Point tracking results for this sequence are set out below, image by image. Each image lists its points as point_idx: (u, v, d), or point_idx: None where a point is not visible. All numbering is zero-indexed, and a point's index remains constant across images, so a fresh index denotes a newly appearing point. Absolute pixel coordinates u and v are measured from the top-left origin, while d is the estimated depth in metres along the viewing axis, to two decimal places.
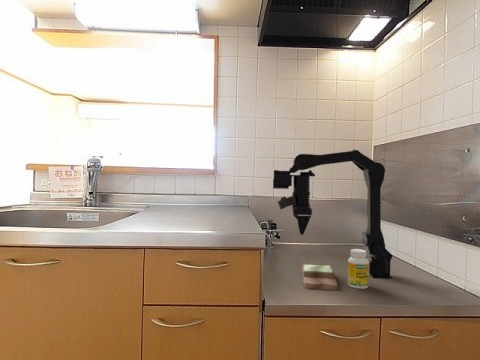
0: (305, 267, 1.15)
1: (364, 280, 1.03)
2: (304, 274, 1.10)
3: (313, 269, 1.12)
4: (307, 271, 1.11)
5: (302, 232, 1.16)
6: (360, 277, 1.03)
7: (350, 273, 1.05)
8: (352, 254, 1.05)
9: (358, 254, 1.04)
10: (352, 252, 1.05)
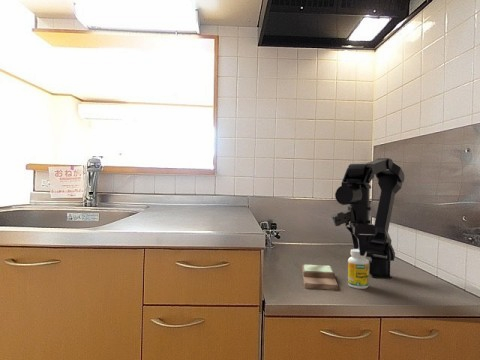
0: (305, 267, 1.15)
1: (364, 280, 1.03)
2: (304, 274, 1.10)
3: (313, 269, 1.12)
4: (307, 271, 1.11)
5: (363, 253, 1.01)
6: (360, 277, 1.03)
7: (350, 273, 1.05)
8: (352, 254, 1.05)
9: (358, 254, 1.04)
10: (352, 252, 1.05)
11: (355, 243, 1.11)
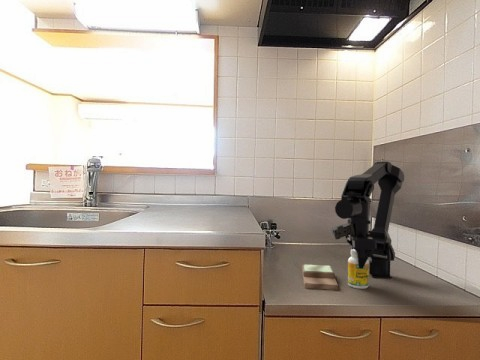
0: (305, 267, 1.15)
1: (364, 280, 1.03)
2: (304, 274, 1.10)
3: (313, 269, 1.12)
4: (307, 271, 1.11)
5: (361, 266, 1.02)
6: (360, 277, 1.03)
7: (350, 273, 1.05)
8: (352, 254, 1.05)
9: None
10: (352, 252, 1.05)
11: None
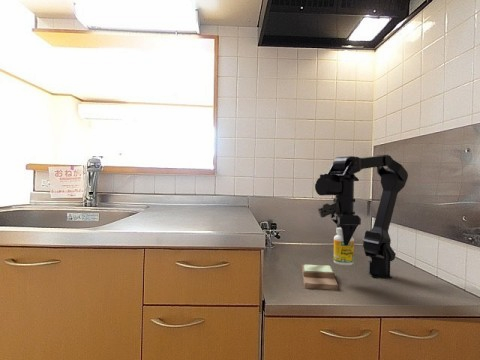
0: (305, 267, 1.15)
1: (349, 257, 1.06)
2: (304, 274, 1.10)
3: (313, 269, 1.12)
4: (307, 271, 1.11)
5: (346, 242, 1.05)
6: (345, 254, 1.06)
7: (336, 250, 1.07)
8: (337, 232, 1.08)
9: None
10: (337, 230, 1.08)
11: None
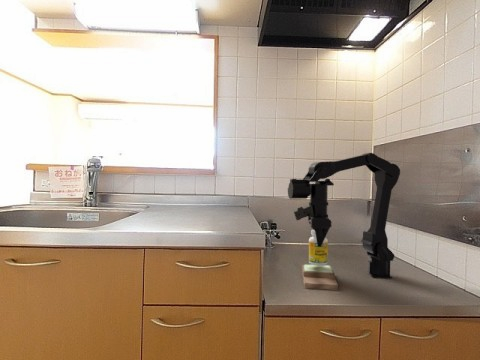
0: (305, 267, 1.15)
1: (322, 257, 1.11)
2: (304, 274, 1.10)
3: (313, 269, 1.12)
4: (307, 271, 1.11)
5: (320, 244, 1.10)
6: (319, 255, 1.11)
7: (310, 252, 1.13)
8: (312, 234, 1.13)
9: None
10: (312, 232, 1.13)
11: None
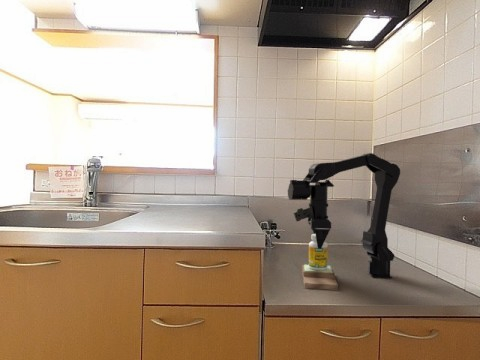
0: (305, 267, 1.15)
1: (322, 262, 1.11)
2: (304, 274, 1.10)
3: (313, 269, 1.12)
4: (307, 271, 1.11)
5: (320, 246, 1.09)
6: (319, 260, 1.11)
7: (310, 256, 1.13)
8: (312, 238, 1.13)
9: None
10: (312, 237, 1.13)
11: None
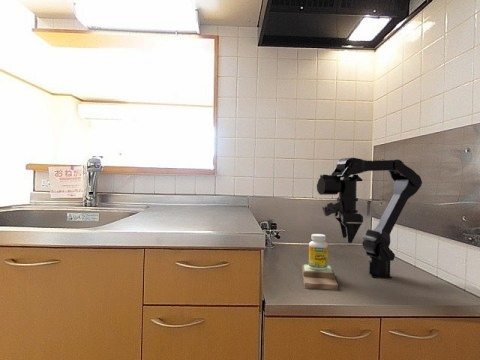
0: (305, 267, 1.15)
1: (322, 262, 1.11)
2: (304, 274, 1.10)
3: (313, 269, 1.12)
4: (307, 271, 1.11)
5: (350, 240, 1.09)
6: (319, 260, 1.11)
7: (310, 256, 1.13)
8: (312, 238, 1.13)
9: (317, 238, 1.12)
10: (312, 237, 1.13)
11: (344, 232, 1.19)
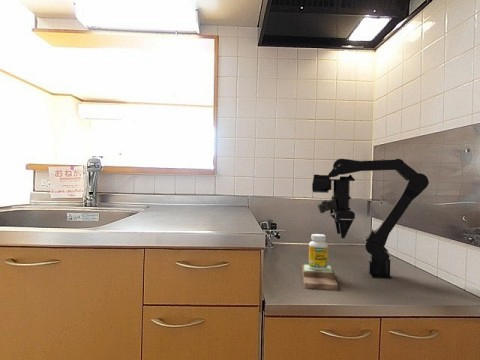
0: (305, 267, 1.15)
1: (322, 262, 1.11)
2: (304, 274, 1.10)
3: (313, 269, 1.12)
4: (307, 271, 1.11)
5: (343, 236, 1.17)
6: (319, 260, 1.11)
7: (310, 256, 1.13)
8: (312, 238, 1.13)
9: (317, 238, 1.12)
10: (312, 237, 1.13)
11: (338, 228, 1.27)
